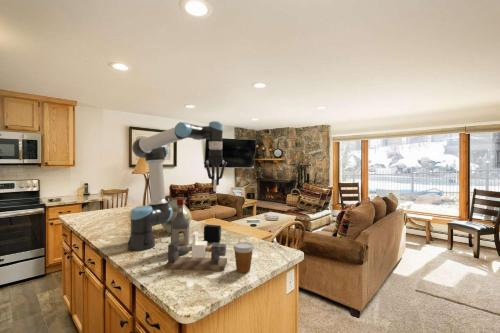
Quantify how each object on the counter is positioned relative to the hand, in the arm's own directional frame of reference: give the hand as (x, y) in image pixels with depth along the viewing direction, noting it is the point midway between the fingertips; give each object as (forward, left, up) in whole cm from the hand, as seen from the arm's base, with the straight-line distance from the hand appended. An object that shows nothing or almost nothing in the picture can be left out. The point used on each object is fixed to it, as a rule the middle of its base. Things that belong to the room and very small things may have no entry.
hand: (215, 191), depth 139 cm
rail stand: (-5, -19, -34) cm, 40 cm away
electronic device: (-5, +18, -35) cm, 39 cm away
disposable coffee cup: (+18, -23, -35) cm, 45 cm away
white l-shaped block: (-4, -19, -29) cm, 35 cm away
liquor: (-19, -3, -35) cm, 40 cm away
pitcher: (-37, +39, -35) cm, 64 cm away
